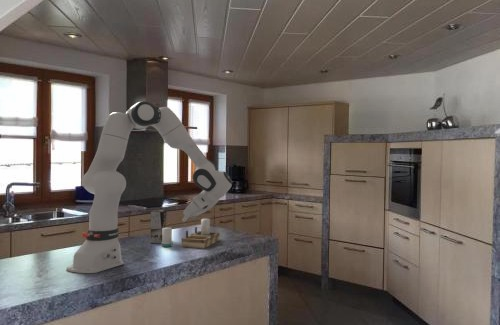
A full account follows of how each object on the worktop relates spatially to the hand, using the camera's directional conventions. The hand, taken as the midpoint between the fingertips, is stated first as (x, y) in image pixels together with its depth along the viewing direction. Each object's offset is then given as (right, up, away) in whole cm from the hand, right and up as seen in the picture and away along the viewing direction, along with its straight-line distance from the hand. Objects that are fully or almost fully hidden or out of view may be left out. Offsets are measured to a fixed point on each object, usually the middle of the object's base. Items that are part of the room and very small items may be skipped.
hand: (187, 219), depth 192 cm
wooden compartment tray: (+5, -14, +11) cm, 19 cm away
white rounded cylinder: (-11, -14, +4) cm, 18 cm away
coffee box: (-18, -14, +15) cm, 27 cm away
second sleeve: (+7, -11, +16) cm, 21 cm away
